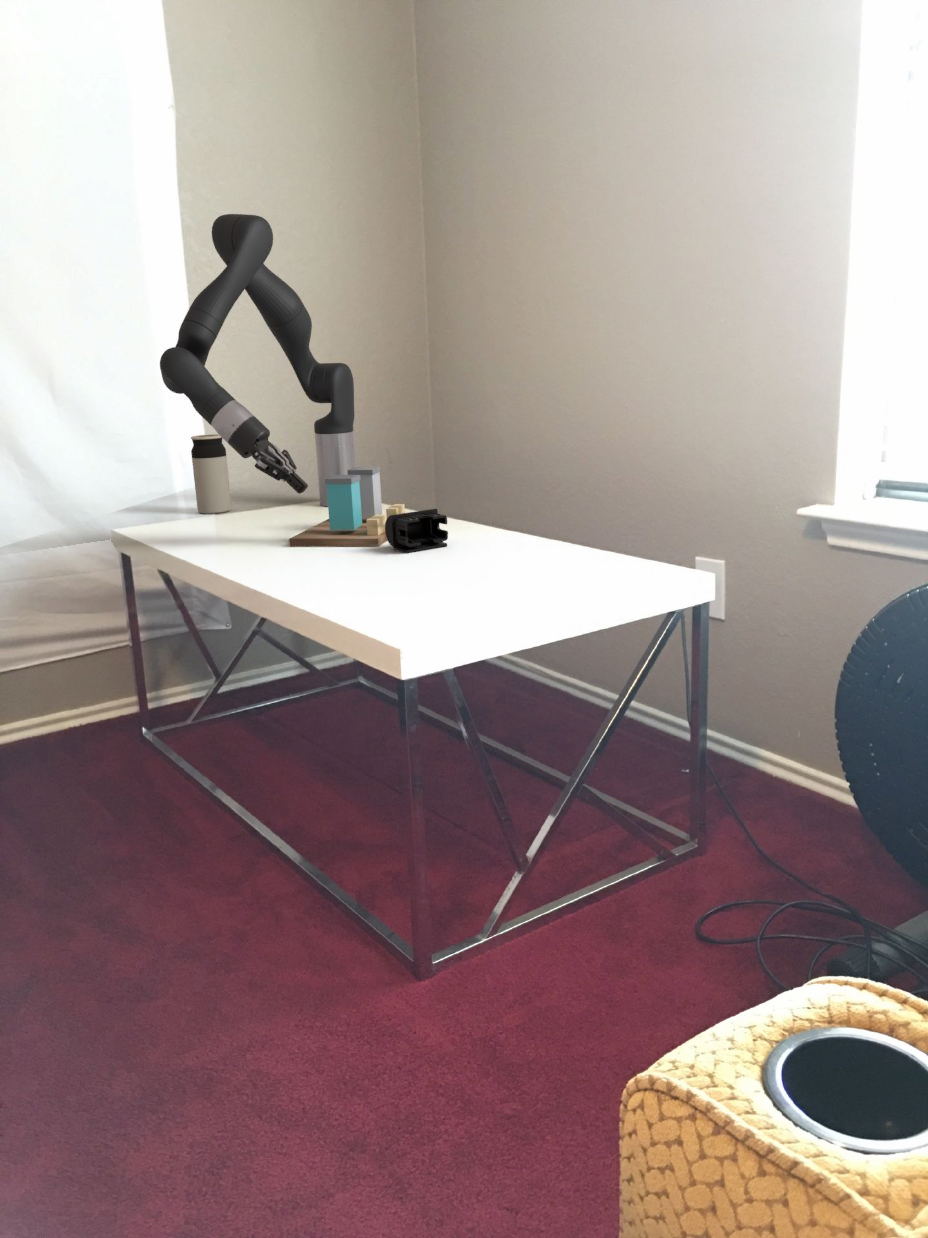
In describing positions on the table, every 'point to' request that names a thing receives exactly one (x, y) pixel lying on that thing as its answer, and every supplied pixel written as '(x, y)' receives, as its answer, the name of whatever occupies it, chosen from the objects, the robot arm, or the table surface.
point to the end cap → (416, 531)
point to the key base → (348, 532)
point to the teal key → (344, 502)
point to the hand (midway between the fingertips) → (304, 490)
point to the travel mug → (210, 474)
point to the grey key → (369, 490)
